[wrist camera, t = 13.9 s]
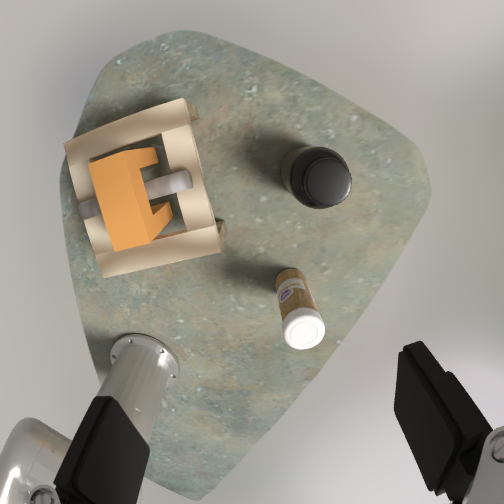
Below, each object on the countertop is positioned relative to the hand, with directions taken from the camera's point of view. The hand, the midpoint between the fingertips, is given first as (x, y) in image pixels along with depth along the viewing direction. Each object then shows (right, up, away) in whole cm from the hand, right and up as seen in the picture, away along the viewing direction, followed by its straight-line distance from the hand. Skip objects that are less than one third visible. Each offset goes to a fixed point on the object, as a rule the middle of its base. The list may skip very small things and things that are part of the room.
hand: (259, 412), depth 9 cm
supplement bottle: (+7, +16, +31) cm, 36 cm away
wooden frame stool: (-13, +14, +31) cm, 37 cm away
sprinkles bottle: (+5, +1, +36) cm, 37 cm away
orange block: (-13, +13, +27) cm, 33 cm away
